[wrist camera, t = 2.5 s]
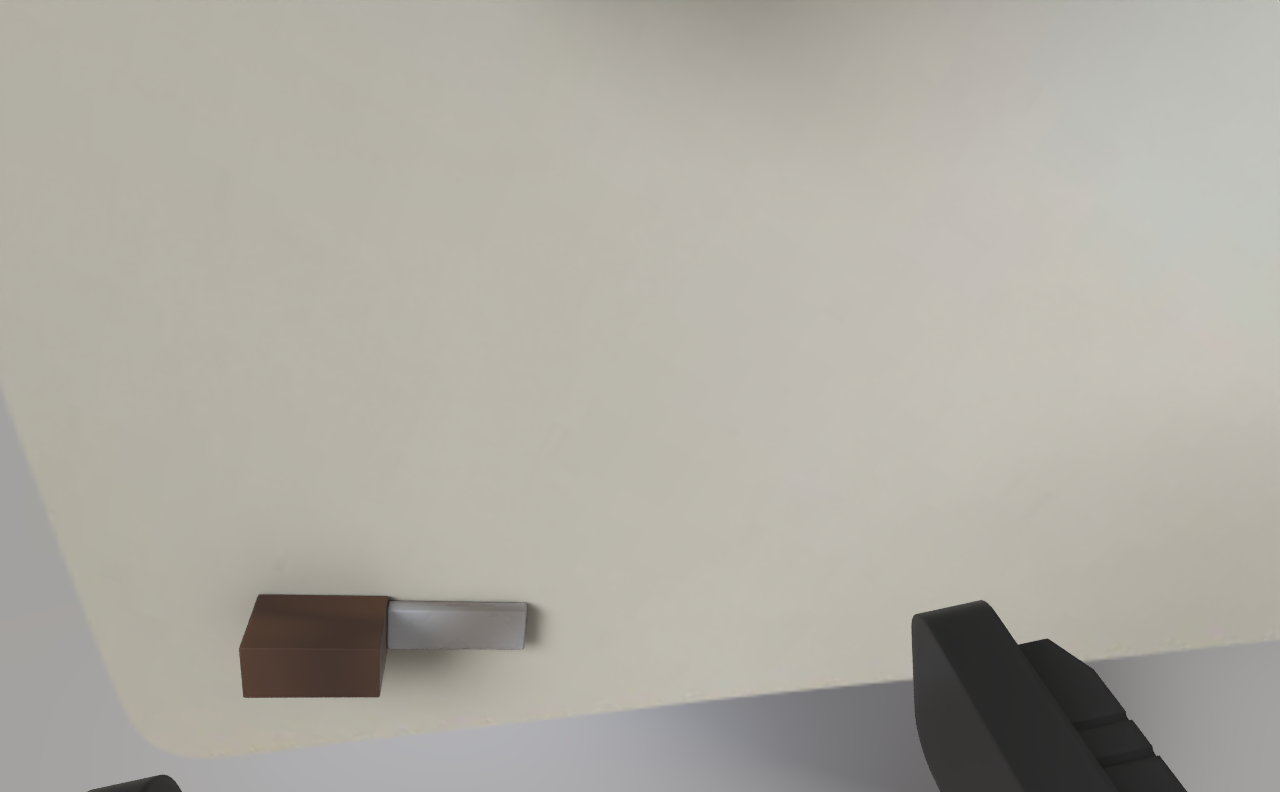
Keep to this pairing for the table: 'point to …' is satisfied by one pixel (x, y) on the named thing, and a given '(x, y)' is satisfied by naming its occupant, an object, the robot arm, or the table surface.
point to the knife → (359, 640)
